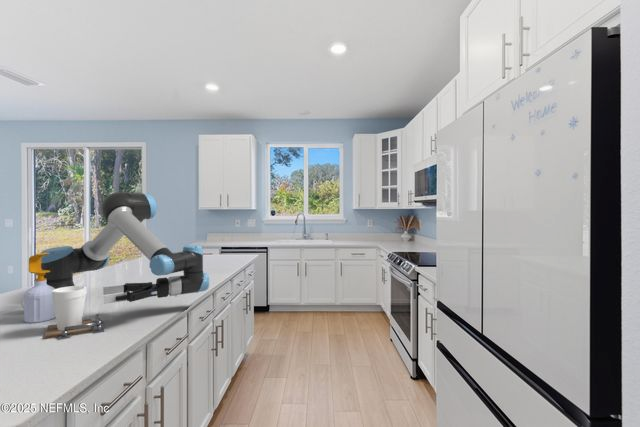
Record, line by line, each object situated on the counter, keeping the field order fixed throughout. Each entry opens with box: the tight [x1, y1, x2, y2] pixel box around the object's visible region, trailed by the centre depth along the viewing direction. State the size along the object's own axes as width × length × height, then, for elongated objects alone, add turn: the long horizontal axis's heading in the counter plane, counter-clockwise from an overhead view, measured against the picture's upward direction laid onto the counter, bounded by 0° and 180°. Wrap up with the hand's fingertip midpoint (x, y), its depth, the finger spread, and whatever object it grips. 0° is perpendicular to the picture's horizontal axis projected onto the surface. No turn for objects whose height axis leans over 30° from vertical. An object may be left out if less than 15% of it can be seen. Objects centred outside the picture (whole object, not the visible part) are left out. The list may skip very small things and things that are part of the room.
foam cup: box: [52, 285, 88, 331], centre depth 109 cm, size 10×9×13 cm
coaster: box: [44, 318, 92, 340], centre depth 109 cm, size 12×12×1 cm
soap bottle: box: [23, 252, 56, 324], centre depth 119 cm, size 9×9×25 cm
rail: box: [57, 313, 105, 341], centre depth 110 cm, size 13×12×3 cm
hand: (103, 295), depth 116 cm, fingers open, 13 cm apart
